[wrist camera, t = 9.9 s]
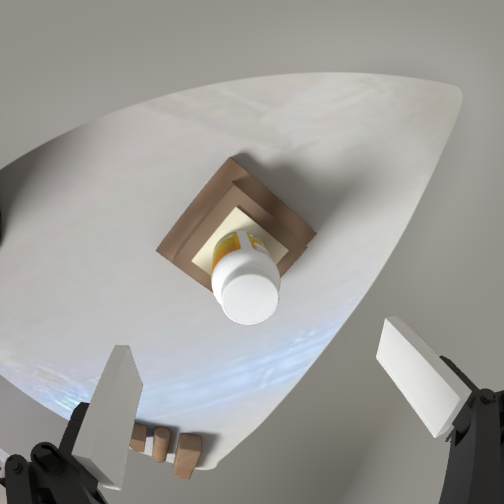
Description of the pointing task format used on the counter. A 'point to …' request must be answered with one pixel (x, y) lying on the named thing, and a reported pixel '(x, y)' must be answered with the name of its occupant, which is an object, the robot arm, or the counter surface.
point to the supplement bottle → (245, 278)
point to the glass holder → (2, 476)
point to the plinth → (234, 224)
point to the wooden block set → (184, 454)
